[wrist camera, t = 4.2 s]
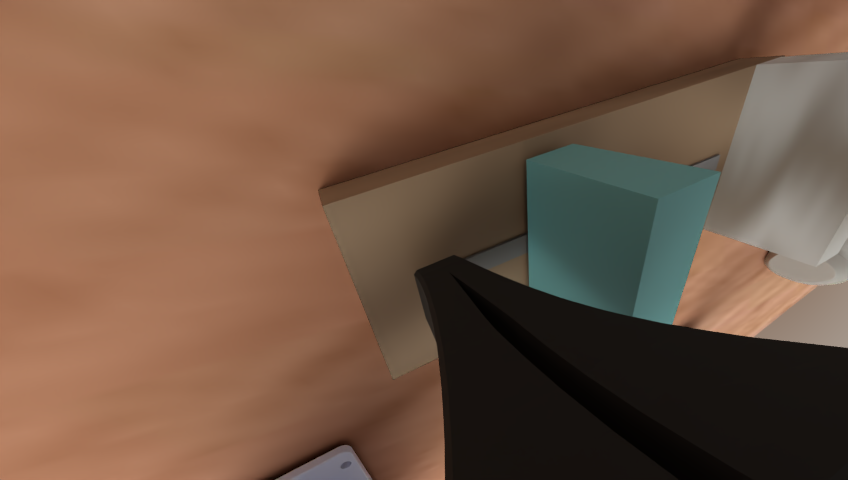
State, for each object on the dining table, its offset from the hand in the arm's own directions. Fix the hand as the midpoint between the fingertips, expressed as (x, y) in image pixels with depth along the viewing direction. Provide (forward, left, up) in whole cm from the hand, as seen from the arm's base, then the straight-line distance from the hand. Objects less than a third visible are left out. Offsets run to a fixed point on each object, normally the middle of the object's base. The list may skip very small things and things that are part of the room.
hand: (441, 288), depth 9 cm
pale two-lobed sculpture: (-12, -31, -3) cm, 34 cm away
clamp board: (-1, -7, -3) cm, 8 cm away
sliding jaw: (0, -5, -1) cm, 5 cm away
